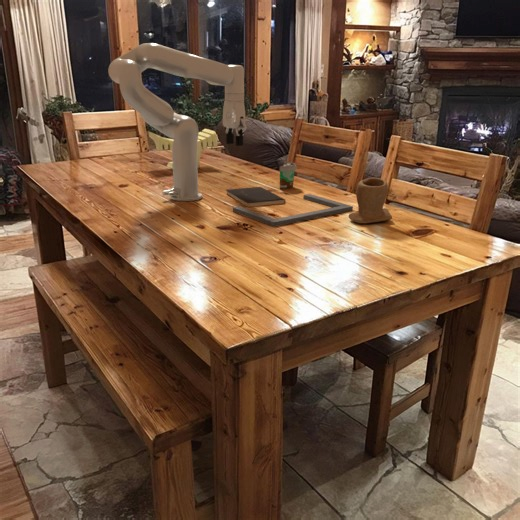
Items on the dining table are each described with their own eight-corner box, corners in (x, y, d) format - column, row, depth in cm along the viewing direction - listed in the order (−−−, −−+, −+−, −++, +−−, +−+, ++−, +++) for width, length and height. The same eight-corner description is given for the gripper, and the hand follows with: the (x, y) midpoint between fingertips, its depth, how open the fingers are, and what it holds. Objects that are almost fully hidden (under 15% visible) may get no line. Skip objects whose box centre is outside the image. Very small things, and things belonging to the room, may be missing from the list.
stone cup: (361, 228, 184) (364, 183, 179) (344, 219, 195) (346, 176, 190) (400, 224, 189) (405, 180, 184) (381, 215, 200) (385, 173, 195)
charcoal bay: (273, 226, 185) (273, 222, 184) (232, 211, 203) (232, 207, 202) (352, 210, 206) (352, 206, 206) (309, 197, 224) (309, 193, 223)
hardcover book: (247, 208, 209) (247, 202, 209) (225, 195, 229) (225, 189, 228) (285, 204, 215) (285, 198, 215) (261, 191, 235) (261, 186, 234)
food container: (293, 190, 235) (294, 167, 232) (279, 189, 237) (279, 166, 233) (297, 184, 247) (298, 161, 243) (283, 183, 248) (284, 161, 245)
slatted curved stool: (160, 172, 269) (158, 135, 263) (150, 167, 282) (148, 131, 276) (217, 168, 282) (217, 132, 276) (206, 162, 295) (205, 128, 289)
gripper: (214, 97, 224) (215, 142, 230) (239, 100, 211) (239, 148, 217) (230, 96, 228) (230, 141, 235) (255, 99, 216) (254, 146, 222)
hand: (234, 144), depth 226 cm, fingers open, 5 cm apart
